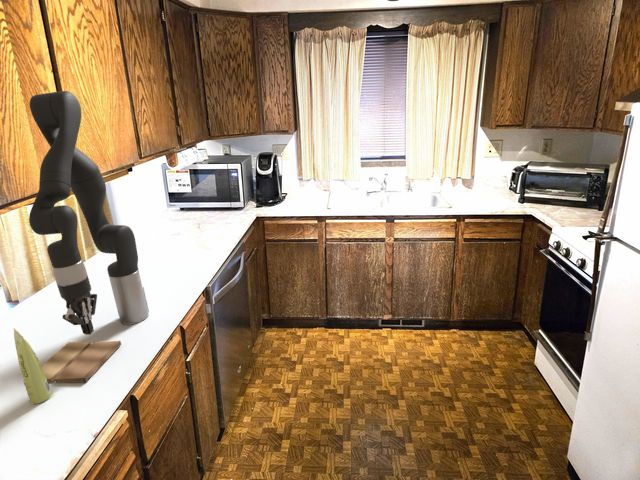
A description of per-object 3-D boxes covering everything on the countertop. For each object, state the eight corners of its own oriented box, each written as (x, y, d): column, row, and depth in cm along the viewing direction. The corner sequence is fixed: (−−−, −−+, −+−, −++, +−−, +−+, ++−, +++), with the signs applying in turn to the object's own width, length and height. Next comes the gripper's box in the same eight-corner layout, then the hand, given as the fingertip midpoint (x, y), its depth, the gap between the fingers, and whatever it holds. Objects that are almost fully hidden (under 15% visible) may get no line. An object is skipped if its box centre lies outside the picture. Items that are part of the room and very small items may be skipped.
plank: (94, 345, 137) (93, 342, 137) (121, 344, 136) (120, 340, 136) (55, 382, 120) (54, 378, 120) (86, 381, 119) (84, 377, 119)
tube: (23, 405, 112) (-1, 338, 106) (35, 392, 117) (13, 327, 111) (45, 404, 112) (22, 336, 106) (56, 390, 117) (35, 325, 110)
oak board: (69, 345, 138) (68, 342, 138) (92, 345, 137) (91, 342, 137) (28, 382, 121) (26, 378, 121) (53, 382, 120) (52, 378, 120)
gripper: (73, 268, 126) (90, 321, 132) (42, 290, 113) (62, 347, 120) (98, 267, 125) (113, 320, 131) (69, 289, 113) (88, 346, 119)
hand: (89, 333), depth 125 cm, fingers closed
